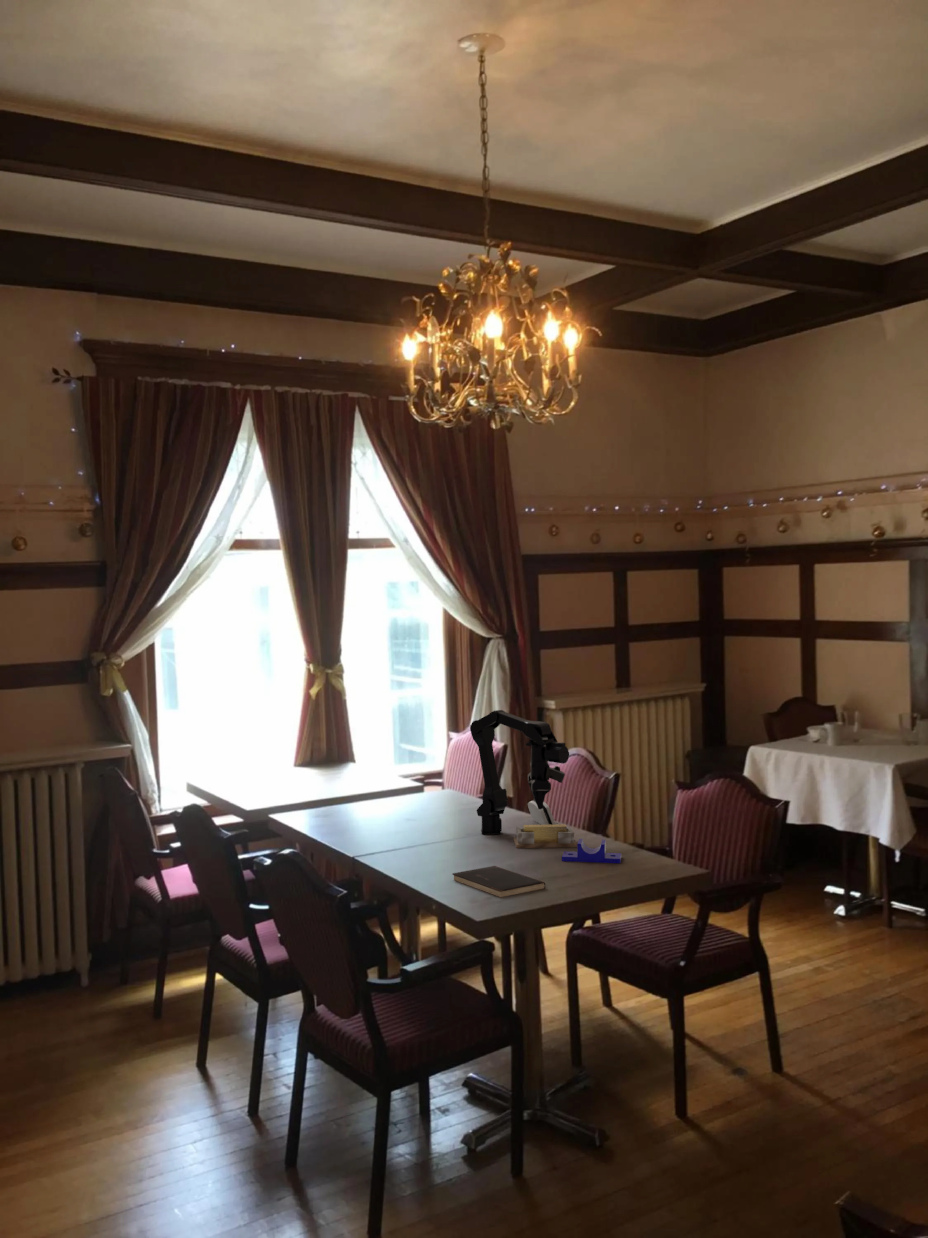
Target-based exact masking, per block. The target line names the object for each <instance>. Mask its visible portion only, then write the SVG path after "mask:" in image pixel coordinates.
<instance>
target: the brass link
mask: <svg viewBox="0 0 928 1238" xmlns="http://www.w3.org/2000/svg"><path fill="white" fill-rule="evenodd" d="M567 827H568V826H567V825H566V824H565V823H564V824H553V825H540V824H523V827H522V828H523V832H534V842H558V832H567Z"/></svg>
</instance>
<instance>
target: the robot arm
mask: <svg viewBox="0 0 928 1238" xmlns="http://www.w3.org/2000/svg"><path fill="white" fill-rule="evenodd" d="M500 725H503V726H505V727H507V728H511V729H513V730H516V731H519V732H521V733H522V734H523V735H524V736H525V737H526V738H528V742H526V743H525V746H526V747H530V761H529V764H530V771H529V773H528V774H527V781H528V785H529V786H528V787H530V790H531V794H532V796H533V800H535V802H536V804H537V806H538V809H542V806H543V802H545V798H546V795H547V794H548V793H550V792H551V790H552V783H551V782H550V779H551V780H554V781H557V782H558V783H562V784H563V781H564V778H565V776H566V774H565V772H564V771H562V770H561V767H560V766H558V765H554V766H553V767H550V764H549V763H550V762H551V763H556V764H563V765H564V764H566V763H567V762H568V761H569V758H570V752H569V749H568V747H567V746H566V742H558V740H557V737H556V736H555V735H554V732H553V731H552V727H551V726H550V723H548V722H545V721H539V720H528V719H527V718H523V717H519V716H517V715H514V714H512V713H509V712H506V711H504V710H503V709H498V710H492V711H491V712H489V713H488V714H487V715H485V716H483V717H481V718H479V719H475V720H473V721H472V722H471V724H470V726H469V731H470V734H471V737H472V739H473V741H474V742H475V744H476V745H477V746H478V753H479V760H480V764H481V770H482V776H483V782H484V789H483V792H482V803H481V804H480V805H479V806H478V808H477V809H476V813H477V816H478V817H481V829H480V831H481V832H480V834H481V835H501V832H502V818H501V815H503V814H504V812H505V809H506V807H507V806H508V801H509V797H508V795H507V794H508V793H507V789H506V788H502V787H501V785H500V784H499V783H500V782H499V777H498V771H497V765H496V759H495V752H494V748H493V742H494V739H495V737H496V735H495V732H496V731H495V730H496V729H497V728H498V727H499V726H500Z"/></svg>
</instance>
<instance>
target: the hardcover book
mask: <svg viewBox="0 0 928 1238" xmlns="http://www.w3.org/2000/svg"><path fill="white" fill-rule="evenodd" d="M451 875H453V880H454V881H456V882H458V883H462V884H463V885H467V886H470V887H472V888H475V889H477V890H480V891H484V892H485V893H488V894H492V895H494V896H497V897H500V898H504V897H509V896H513V895H517V894H523V893H528V892H534V891H537V890H542V889H546V882H545V881H541V880H540V879H536V878H533V877H530V876H527V875H524V874H521V873H519V872H515V871H511V870H509V869H506V868H503V867H500V866H497V865H491V866H487V867H480V868H475V869H469V870H465V871H459V872H453V873H452V874H451Z"/></svg>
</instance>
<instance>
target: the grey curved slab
mask: <svg viewBox="0 0 928 1238" xmlns="http://www.w3.org/2000/svg"><path fill="white" fill-rule="evenodd" d="M527 807H528V810H529V814H530V817H531V816H532V817H531V819H533V820H532V821H534V822H535V821H536V822H535V823H537V822H538V823H537V824H538V825H540V824H541V825H553V824H559V822H558V821H555V819H554V816H553V813H552V810H551V807H549V805H548V804H547V803H546V802H545V801H544V802H543V806H542V809H538V806H537V804H536V802H535V799H533V800H531V801H529V802H528V803H527Z"/></svg>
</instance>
